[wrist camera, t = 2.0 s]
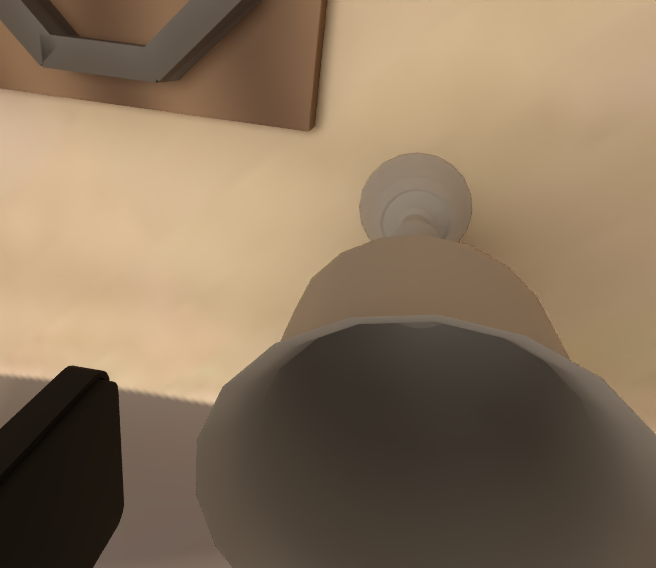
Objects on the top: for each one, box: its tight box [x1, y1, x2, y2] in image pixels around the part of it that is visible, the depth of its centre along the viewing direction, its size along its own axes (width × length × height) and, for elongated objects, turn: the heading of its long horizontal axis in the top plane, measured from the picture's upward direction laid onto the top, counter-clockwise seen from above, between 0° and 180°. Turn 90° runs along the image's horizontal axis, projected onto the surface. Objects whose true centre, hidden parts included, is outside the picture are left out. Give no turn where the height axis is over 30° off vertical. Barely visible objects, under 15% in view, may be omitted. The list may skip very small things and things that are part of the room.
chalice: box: [196, 153, 656, 568], centre depth 16 cm, size 7×7×18 cm
